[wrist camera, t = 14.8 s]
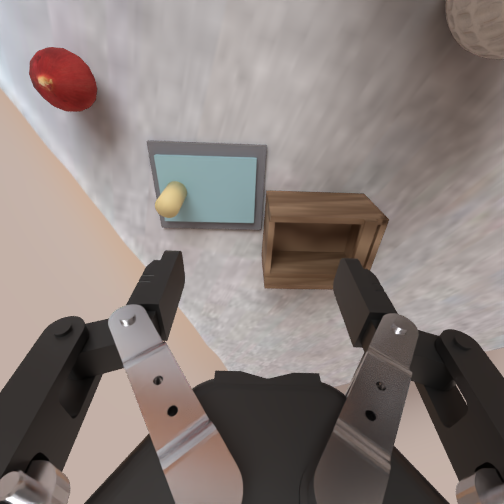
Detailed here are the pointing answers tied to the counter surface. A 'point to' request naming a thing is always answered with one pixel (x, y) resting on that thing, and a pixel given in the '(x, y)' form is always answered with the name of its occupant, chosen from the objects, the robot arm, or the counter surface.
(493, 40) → the vase
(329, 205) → the box
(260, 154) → the mat
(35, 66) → the red oval lump
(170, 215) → the thin pale-blue panel
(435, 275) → the counter surface
